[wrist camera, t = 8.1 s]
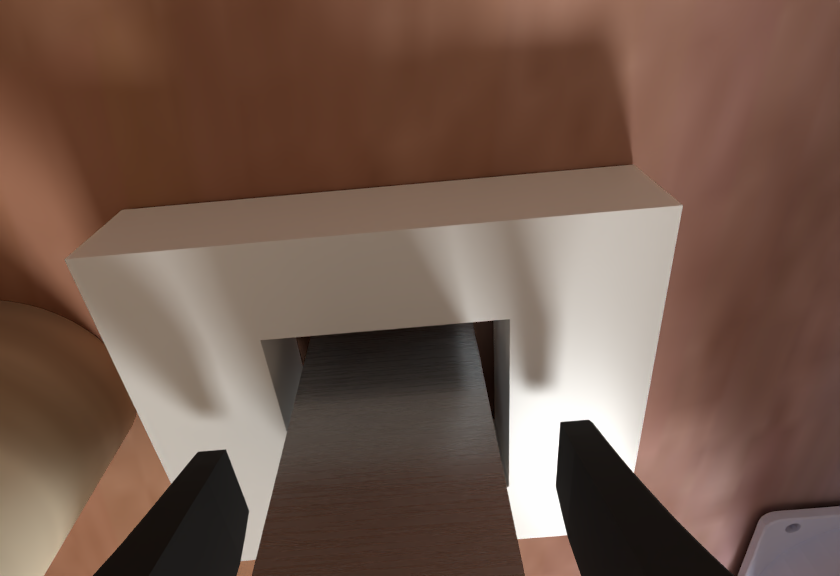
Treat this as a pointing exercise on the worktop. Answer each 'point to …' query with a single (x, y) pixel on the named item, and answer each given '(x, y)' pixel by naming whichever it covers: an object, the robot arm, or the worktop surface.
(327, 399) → the square peg
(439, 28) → the worktop surface
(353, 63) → the worktop surface
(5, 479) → the round peg
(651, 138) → the worktop surface
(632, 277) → the socket block
